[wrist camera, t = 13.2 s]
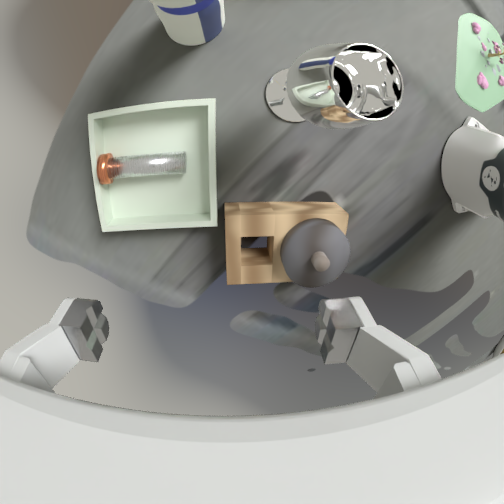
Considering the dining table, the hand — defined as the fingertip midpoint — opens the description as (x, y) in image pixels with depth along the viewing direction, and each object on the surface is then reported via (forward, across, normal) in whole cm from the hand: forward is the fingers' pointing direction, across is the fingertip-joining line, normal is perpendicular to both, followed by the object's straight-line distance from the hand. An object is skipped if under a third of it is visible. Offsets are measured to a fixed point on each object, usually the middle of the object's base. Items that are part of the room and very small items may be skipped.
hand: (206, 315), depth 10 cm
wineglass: (+30, -9, -9) cm, 32 cm away
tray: (+29, +9, 0) cm, 30 cm away
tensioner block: (+29, -8, +11) cm, 32 cm away
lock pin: (+27, +5, 0) cm, 27 cm away
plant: (+32, -48, -25) cm, 63 cm away
